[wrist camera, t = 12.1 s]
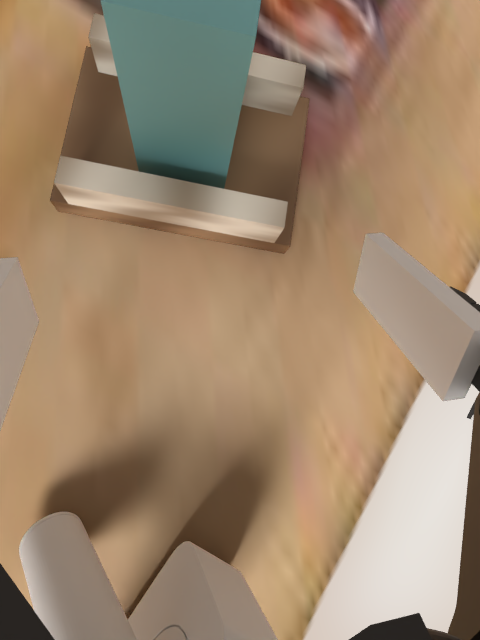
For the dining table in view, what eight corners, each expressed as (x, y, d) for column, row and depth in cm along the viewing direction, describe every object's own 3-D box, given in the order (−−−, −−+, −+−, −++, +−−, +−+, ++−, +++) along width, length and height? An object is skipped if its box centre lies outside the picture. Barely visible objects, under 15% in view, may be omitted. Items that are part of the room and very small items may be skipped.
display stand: (58, 211, 24) (33, 178, 20) (92, 65, 25) (75, 8, 22) (284, 253, 25) (302, 231, 22) (302, 113, 27) (322, 69, 23)
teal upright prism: (139, 174, 23) (100, 0, 13) (151, 105, 24) (124, -115, 13) (223, 190, 24) (255, 36, 13) (233, 122, 25) (271, -76, 14)
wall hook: (80, 454, 22) (62, 560, 12) (225, 541, 24) (302, 684, 15) (-24, 591, 20) (-137, 835, 11) (143, 668, 23) (171, 918, 13)
